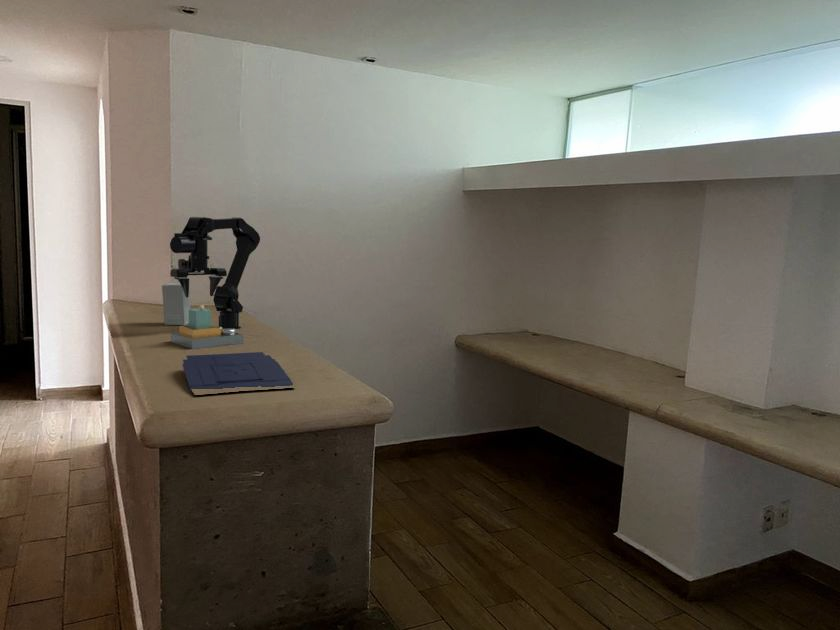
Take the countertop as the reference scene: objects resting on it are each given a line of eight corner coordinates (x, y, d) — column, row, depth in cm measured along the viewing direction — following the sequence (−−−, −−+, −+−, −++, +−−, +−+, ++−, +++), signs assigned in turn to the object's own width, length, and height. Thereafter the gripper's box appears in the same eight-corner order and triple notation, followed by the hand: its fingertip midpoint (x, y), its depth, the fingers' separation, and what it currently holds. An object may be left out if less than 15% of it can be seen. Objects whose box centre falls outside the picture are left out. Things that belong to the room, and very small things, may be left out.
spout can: (203, 332, 217) (202, 304, 216) (210, 334, 213) (210, 305, 212) (189, 333, 213) (188, 305, 212) (196, 335, 210) (196, 306, 209)
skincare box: (191, 323, 253) (191, 283, 251) (183, 326, 246) (182, 284, 244) (170, 322, 254) (170, 282, 252) (162, 325, 247) (161, 283, 245)
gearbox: (220, 336, 227) (220, 321, 226) (243, 343, 217) (243, 327, 216) (170, 341, 214) (170, 325, 214) (192, 349, 204) (191, 331, 203)
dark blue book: (268, 360, 186) (269, 348, 185) (296, 399, 160) (296, 385, 159) (178, 365, 176) (178, 352, 175) (192, 407, 150) (192, 392, 149)
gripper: (212, 251, 242) (212, 293, 244) (163, 251, 229) (163, 295, 231) (227, 253, 234) (227, 296, 236) (177, 253, 221) (178, 299, 223)
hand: (199, 296), depth 232 cm, fingers open, 9 cm apart
